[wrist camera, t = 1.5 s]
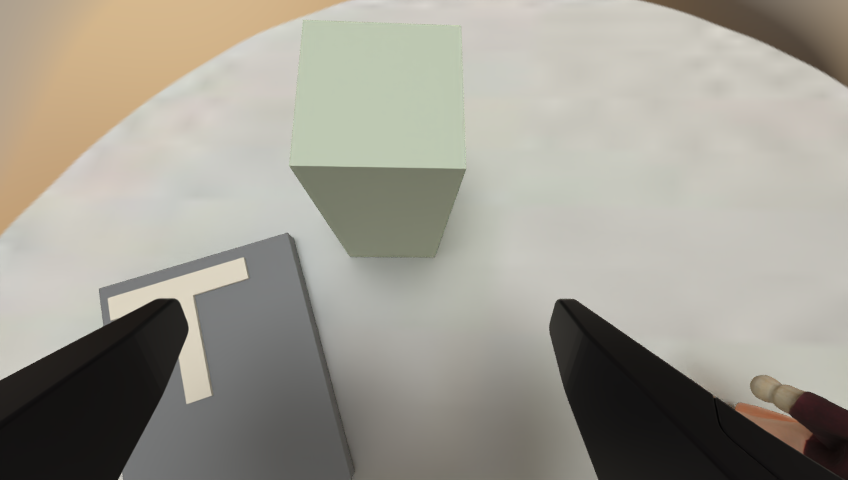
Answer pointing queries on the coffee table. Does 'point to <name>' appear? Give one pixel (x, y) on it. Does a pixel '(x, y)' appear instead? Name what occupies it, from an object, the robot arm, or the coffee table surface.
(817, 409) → the grandmother figurine
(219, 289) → the board
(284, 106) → the coffee table surface
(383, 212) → the sage block
